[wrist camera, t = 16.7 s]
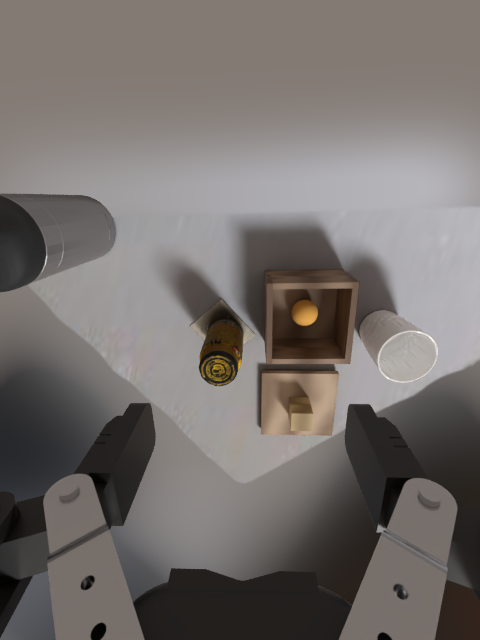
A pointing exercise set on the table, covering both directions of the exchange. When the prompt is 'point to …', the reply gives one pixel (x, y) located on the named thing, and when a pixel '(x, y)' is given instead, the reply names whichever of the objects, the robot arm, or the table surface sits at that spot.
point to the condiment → (221, 343)
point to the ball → (304, 312)
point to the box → (328, 329)
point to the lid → (298, 402)
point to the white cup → (398, 346)
